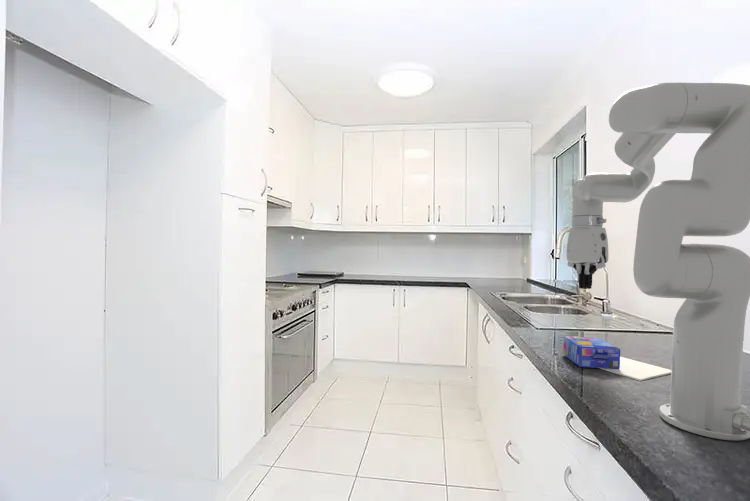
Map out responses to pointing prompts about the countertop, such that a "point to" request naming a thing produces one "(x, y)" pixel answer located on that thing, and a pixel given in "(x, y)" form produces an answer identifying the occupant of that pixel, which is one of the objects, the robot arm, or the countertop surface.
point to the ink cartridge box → (591, 352)
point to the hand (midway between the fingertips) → (585, 288)
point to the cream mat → (638, 370)
